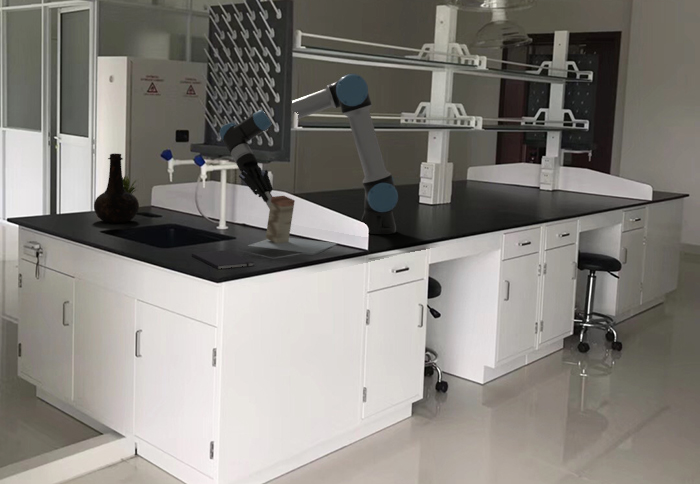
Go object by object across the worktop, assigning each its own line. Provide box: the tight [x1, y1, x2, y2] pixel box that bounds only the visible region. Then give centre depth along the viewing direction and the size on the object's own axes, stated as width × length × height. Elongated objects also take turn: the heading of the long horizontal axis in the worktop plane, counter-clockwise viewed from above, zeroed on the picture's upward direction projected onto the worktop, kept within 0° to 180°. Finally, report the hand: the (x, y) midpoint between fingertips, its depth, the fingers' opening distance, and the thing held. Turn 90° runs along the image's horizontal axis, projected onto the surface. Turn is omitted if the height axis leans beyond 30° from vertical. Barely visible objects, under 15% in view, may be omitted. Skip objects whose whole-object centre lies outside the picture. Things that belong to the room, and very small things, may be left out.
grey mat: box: [247, 237, 338, 256], centre depth 284 cm, size 22×26×1 cm
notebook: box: [191, 250, 254, 270], centre depth 255 cm, size 13×2×21 cm
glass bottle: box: [93, 153, 140, 224], centre depth 319 cm, size 18×18×28 cm
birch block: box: [265, 195, 296, 243], centre depth 286 cm, size 6×6×16 cm
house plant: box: [122, 174, 138, 195], centre depth 355 cm, size 14×14×16 cm
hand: (273, 207), depth 287 cm, fingers closed
